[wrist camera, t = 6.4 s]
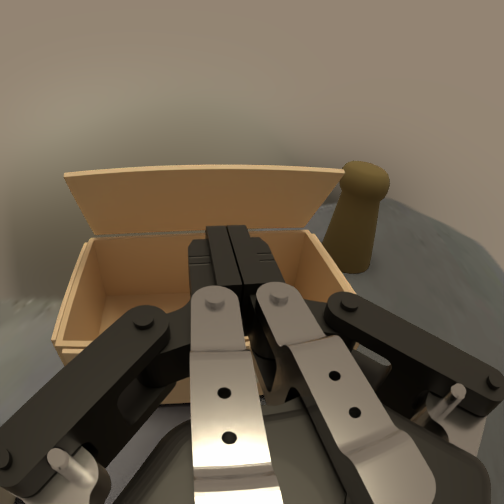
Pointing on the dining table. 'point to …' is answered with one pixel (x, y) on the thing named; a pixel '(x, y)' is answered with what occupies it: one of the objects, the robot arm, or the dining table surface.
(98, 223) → the flap
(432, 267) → the dining table surface
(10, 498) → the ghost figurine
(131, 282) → the carton
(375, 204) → the cork
